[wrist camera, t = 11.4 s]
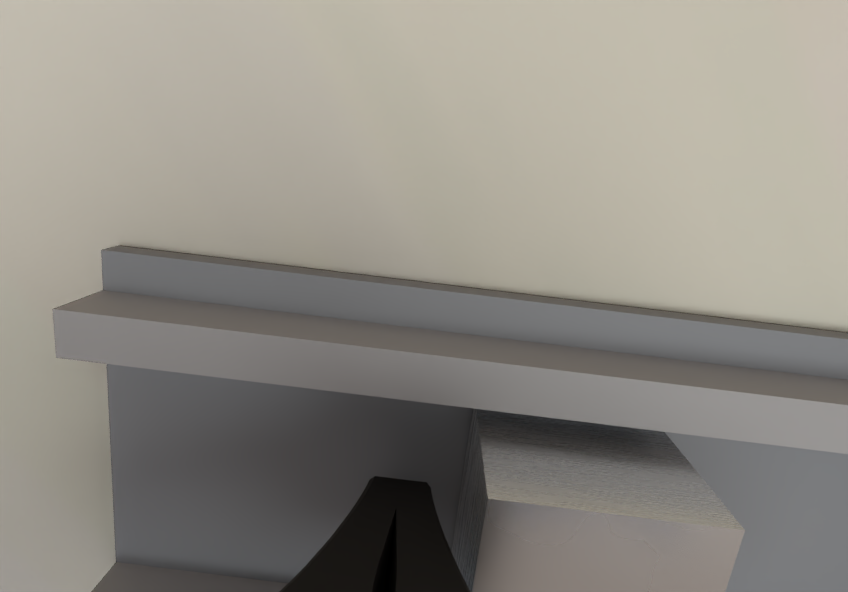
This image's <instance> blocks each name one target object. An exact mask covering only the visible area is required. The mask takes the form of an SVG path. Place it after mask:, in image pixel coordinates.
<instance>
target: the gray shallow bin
mask: <svg viewBox="0 0 848 592" xmlns="http://www.w3.org/2000/svg"><path fill="white" fill-rule="evenodd" d="M101 255H102V276H103V290H102V291H100V292H97V293H94V294H92V295H89V296H86V297H84V298H81V299H78V300H76V301H73V302H70V303H68V304H65V305H62V306H60V307H57V308H54V309H53V320H54V333H55V347H56V358H63V359H71V360H80V361H88V362H96V363H104V364H107V381H108V402H109V423H110V444H111V465H112V486H113V507H114V528H115V549H116V563H115V564H114V565H113V566H112V568H111V569H110V570H109V571H108V572H107V574H106V575H105V576H104V577H103V579H102V580H101V581H100V582H99V583H98V585H97V586H96V587H95V588H94V589H93V591H92V592H279V591H280V590H282V589H283V588H284V587H285V586H286V585H287V584H288V583H289V582H290V581H291V580H292V579H293V578H294V577H295V576H296V575H297V574H298V573H299V572H300V571H301V570H302V569H303V568H304V567H305V566H306V565H307V564H308V562H309V561H310V560H311V559H312V558H313V557H314V556H315V554H316V553H317V552H318V551H319V550H320V549H321V548H322V547H323V545H324V544H325V543H326V542H327V541H328V540H329V538H330V537H331V536H332V535H333V534H334V532H335V531H336V530H337V528H338V527H339V526H340V524H341V523H342V522H343V520H344V519H345V518H346V517H347V515H348V514H349V512H350V511H351V510H352V508H353V507H354V505H355V504H356V502H357V501H358V499H359V498H360V496H361V495H362V493H363V491H364V489H365V488H366V486H367V484H368V482H369V480H370V479H371V478H373V477H374V476H379V477H388V478H396V479H404V480H412V481H420V482H427V483H428V485H429V486H430V487H431V492H432V497H433V501H434V505H435V509H436V512H437V515H438V518H439V521H440V524H441V527H442V530H443V533H444V535H445V538H446V540H447V542H448V545H449V547H450V550H452V543H453V537H454V530H455V523H456V517H457V510H458V504H459V497H460V490H461V484H462V477H463V471H464V464H465V457H466V451H467V444H468V438H469V431H470V424H471V418H472V411H473V408H474V409H482V410H490V411H498V412H506V413H515V414H523V415H531V416H539V417H548V418H556V419H564V420H572V421H580V422H589V423H597V424H605V425H613V426H621V427H630V428H638V429H646V430H654V431H662V432H665V433H666V434H667V436H668V437H669V438H670V439H671V440H672V442H673V443H674V444H675V445H676V447H677V448H678V449H679V450H680V451H681V453H682V454H683V455H684V456H685V458H686V459H687V460H688V461H689V462H690V464H691V465H692V466H693V467H694V469H695V470H696V471H697V472H698V473H699V475H700V476H701V477H702V478H703V480H704V481H705V482H706V483H707V484H708V486H709V487H710V488H711V489H712V491H713V492H714V493H715V494H716V495H717V497H718V498H719V499H720V500H721V502H722V503H723V504H724V505H725V506H726V508H727V509H728V510H729V511H730V513H731V514H732V515H733V516H734V517H735V519H736V520H737V521H738V522H739V524H740V525H741V526H742V527H743V528H744V530H745V532H744V535H743V538H742V541H741V545H740V548H739V551H738V554H737V557H736V560H735V563H734V566H733V569H732V573H731V576H730V579H729V582H728V585H727V588H726V591H725V592H848V333H844V332H836V331H828V330H819V329H811V328H803V327H794V326H786V325H778V324H769V323H761V322H753V321H744V320H736V319H728V318H719V317H711V316H703V315H694V314H686V313H677V312H669V311H661V310H652V309H644V308H636V307H627V306H619V305H611V304H602V303H594V302H586V301H577V300H569V299H561V298H552V297H544V296H535V295H527V294H519V293H510V292H502V291H494V290H485V289H477V288H469V287H460V286H452V285H444V284H435V283H427V282H419V281H410V280H402V279H393V278H385V277H377V276H368V275H360V274H352V273H343V272H335V271H327V270H318V269H310V268H302V267H293V266H285V265H277V264H268V263H260V262H251V261H243V260H235V259H226V258H218V257H210V256H201V255H193V254H185V253H176V252H168V251H160V250H151V249H143V248H135V247H126V246H115V247H111V248H107V249H103V250H101Z"/></svg>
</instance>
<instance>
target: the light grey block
mask: <svg viewBox="0 0 848 592" xmlns="http://www.w3.org/2000/svg"><path fill="white" fill-rule="evenodd" d="M744 532H745V530H744V528H743V527H742V526H741V525H740V524H739V522H738V521H737V520H736V519H735V517H734V516H733V515H732V514H731V513H730V511H729V510H728V509H727V508H726V506H725V505H724V504H723V503H722V502H721V500H720V499H719V498H718V497H717V495H716V494H715V493H714V492H713V491H712V489H711V488H710V487H709V486H708V484H707V483H706V482H705V481H704V480H703V478H702V477H701V476H700V475H699V473H698V472H697V471H696V470H695V469H694V467H693V466H692V465H691V464H690V462H689V461H688V460H687V459H686V458H685V456H684V455H683V454H682V453H681V451H680V450H679V449H678V448H677V447H676V445H675V444H674V443H673V442H672V440H671V439H670V438H669V437H668V436H667V434H666V433H665V432H662V431H654V430H646V429H638V428H630V427H621V426H613V425H605V424H597V423H589V422H580V421H572V420H564V419H556V418H548V417H539V416H531V415H523V414H515V413H506V412H498V411H490V410H482V409H474V408H473V411H472V418H471V424H470V431H469V438H468V444H467V451H466V457H465V464H464V471H463V477H462V484H461V490H460V497H459V504H458V510H457V517H456V523H455V530H454V537H453V543H452V550H451V552H452V555H453V557H454V559H455V561H456V563H457V566H458V568H459V570H460V572H461V574H462V576H463V578H464V580H465V582H466V584H467V586H468V588H469V590H470V592H725V591H726V588H727V585H728V582H729V579H730V576H731V573H732V569H733V566H734V563H735V560H736V557H737V554H738V551H739V548H740V545H741V541H742V538H743V535H744Z"/></svg>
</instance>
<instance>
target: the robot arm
mask: <svg viewBox="0 0 848 592" xmlns="http://www.w3.org/2000/svg"><path fill="white" fill-rule="evenodd" d="M279 592H470V590H469V588H468V586H467V584H466V582H465V580H464V578H463V576H462V574H461V572H460V570H459V568H458V566H457V563H456V561H455V559H454V557H453V555H452V552H451V550H450V547H449V545H448V542H447V540H446V538H445V535H444V533H443V530H442V527H441V524H440V521H439V518H438V515H437V512H436V509H435V505H434V501H433V497H432V492H431V487H430V486H429V485H428V483H427V482H420V481H412V480H404V479H396V478H388V477H379V476H374V477H373V478H371V479H370V480H369V482H368V484H367V486H366V488H365V489H364V491H363V493H362V495H361V496H360V498H359V499H358V501H357V502H356V504H355V505H354V507H353V508H352V510H351V511H350V512H349V514H348V515H347V517H346V518H345V519H344V520H343V522H342V523H341V524H340V526H339V527H338V528H337V530H336V531H335V532H334V534H333V535H332V536H331V537H330V538H329V540H328V541H327V542H326V543H325V544H324V545H323V547H322V548H321V549H320V550H319V551H318V552H317V553H316V554H315V556H314V557H313V558H312V559H311V560H310V561H309V562H308V564H307V565H306V566H305V567H304V568H303V569H302V570H301V571H300V572H299V573H298V574H297V575H296V576H295V577H294V578H293V579H292V580H291V581H290V582H289V583H288V584H287V585H286V586H285V587H284V588H283V589H282V590H280V591H279Z"/></svg>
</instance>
